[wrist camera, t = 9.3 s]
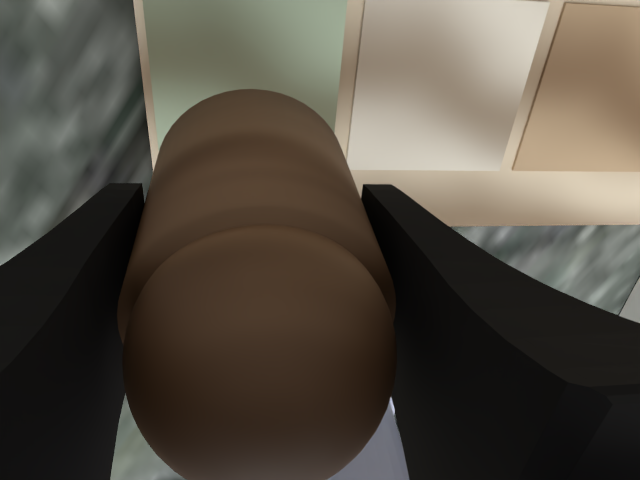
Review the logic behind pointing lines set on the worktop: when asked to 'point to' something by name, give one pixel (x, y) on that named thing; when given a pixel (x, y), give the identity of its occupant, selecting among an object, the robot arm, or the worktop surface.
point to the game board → (430, 94)
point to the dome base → (632, 305)
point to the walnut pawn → (256, 298)
